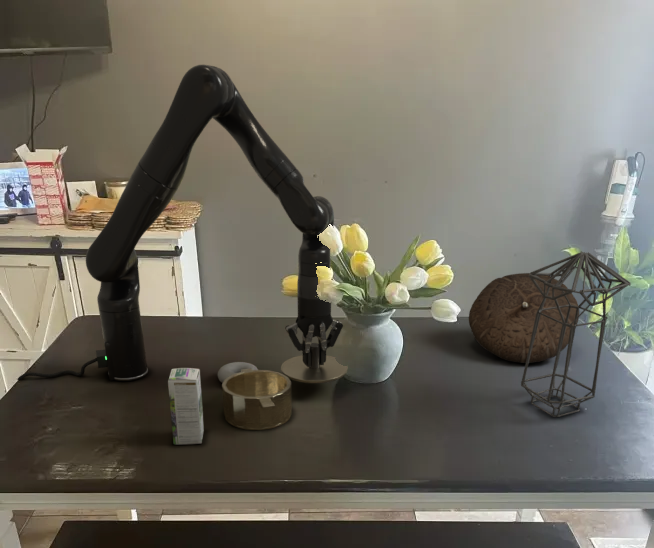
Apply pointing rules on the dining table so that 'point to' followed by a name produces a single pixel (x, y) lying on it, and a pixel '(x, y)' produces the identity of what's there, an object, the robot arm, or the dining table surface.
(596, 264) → the geometric lantern
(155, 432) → the dining table surface
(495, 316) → the brown fungus
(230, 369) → the donut
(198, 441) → the syrup box
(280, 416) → the pot
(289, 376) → the lid
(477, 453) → the dining table surface
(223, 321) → the dining table surface
